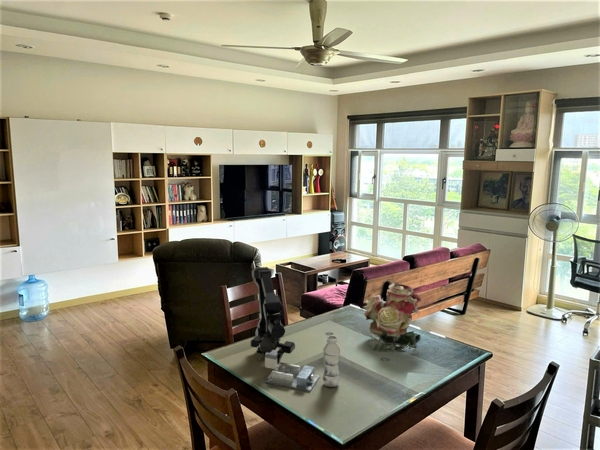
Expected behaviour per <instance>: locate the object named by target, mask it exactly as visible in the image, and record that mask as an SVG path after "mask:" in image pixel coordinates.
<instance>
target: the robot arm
mask: <svg viewBox="0 0 600 450" xmlns="http://www.w3.org/2000/svg"><path fill="white" fill-rule="evenodd" d="M272 273H273V272H272V269H270V268H268V266H263V267H254V269H253V270H251V276H252V279H253V283H254V284H255V285H256V286H257V293H258V295H257V296H258V305H259V315H260V317H259V320H258V323H257V328H256V329H255V337H253V338H252V339H251V340H250V343H249V344H250V347H252V348H257V350H256V351H255V352H256V353H260V354H262V355H263V358H264V359H265V354H266V353H270V352H272V350H277V349H278V350H277V354H278V358H277V364H279V363H280V362H281V360H282V358H283V355H284V354H292V352H293V351H294V350H295V349H296V344H295V342H293V341H289V340H286V341H285V342H282V343H281V342H280V341H281V338H283V337H284V335H285V334H286V328H285V327H284V325H283V324H282V322H281V320H283V319H285V314H286V313H285V309H284V304H283V303H282V301H281V300H280V297H279V296H278V295H277V294H276V293H275V288H274V285H273V284H274V283H273V281H272V275H273V274H272Z"/></svg>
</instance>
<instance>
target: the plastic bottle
mask: <svg viewBox="0 0 600 450" xmlns="http://www.w3.org/2000/svg"><path fill="white" fill-rule="evenodd" d="M326 338H327V339H326V342H327V343H326V344H325V345H324V347H323V349H322V350H323V358H324V359H323V361H324V362H323V363H324V368H323V369H324V370H323V376H322V382H323V385H325V386H326V387H329V388H335V387H338V386H339V384H340V373H339V359H340V352H341V350H340V347H339V345H338V343H337V342H338V340H337V336H336V335H328V336H327V337H326Z"/></svg>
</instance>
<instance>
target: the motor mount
mask: <svg viewBox="0 0 600 450" xmlns="http://www.w3.org/2000/svg"><path fill="white" fill-rule="evenodd" d="M320 376H321V375H319V374H315V366H310V365H304V366H303V368H302V369H301V365H298V364H297V365H296V364H291V363H286V362H281V361H280V363H279V366H278V367H276V368H275V369H272V371H271V373H270V374H269V375H268V376H267V378H266V380H265V384H270V385H274V386H280V387H284V388H288V389H289V388H290V389H293V390H299V391H302V392H308V393H311V392H312V390H313V389H314V387H315V385H316V384H317V382H318V380H319V379H320V378H321V377H320Z"/></svg>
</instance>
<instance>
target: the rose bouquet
mask: <svg viewBox="0 0 600 450" xmlns="http://www.w3.org/2000/svg"><path fill="white" fill-rule="evenodd" d="M414 292H415V290H414V288H413V287H412V286H411V285H410V286H409V285H405V284H402V283H399V282H393V283H392V284H390V285H388V289H387V290H386V295H385V296H386V297H387V301H384V300H383V299H382V296H381V295H380V294H378V295H372V297H369V298H368V299H367V300H366V301H365V304H366V305H364V306H362V309H363V310H366V311H365V312H364V313H363V314H364V317H365V321H368V320H370V321H372V322H370V323H369V332H370V333H369V336H370V337H371V338H368V339H367V343H368V345H369V346H370V347H371V349H372V350H373V351H374V352H381V353H385V352H387V353H388V352H400V353H402V352H401V351H403V350H402V349H406V348H407V347H408V346H409V347H410V348H416V349H417V342H416V337H418V338H419V339H422V337H421V334H418V333H415V331H416V330H417V329H415V330H411V331H408V328H409V326H410V325H411V323H412V320H413V317H412V314H415V313H420V311H419V310H420V309H418V308H417V307H418V303H419V302H422V300H423V299H422V297H420V296H419V294H418V293H414ZM413 293H414V294H413ZM406 344H407V345H408V346H407V345H406Z"/></svg>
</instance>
